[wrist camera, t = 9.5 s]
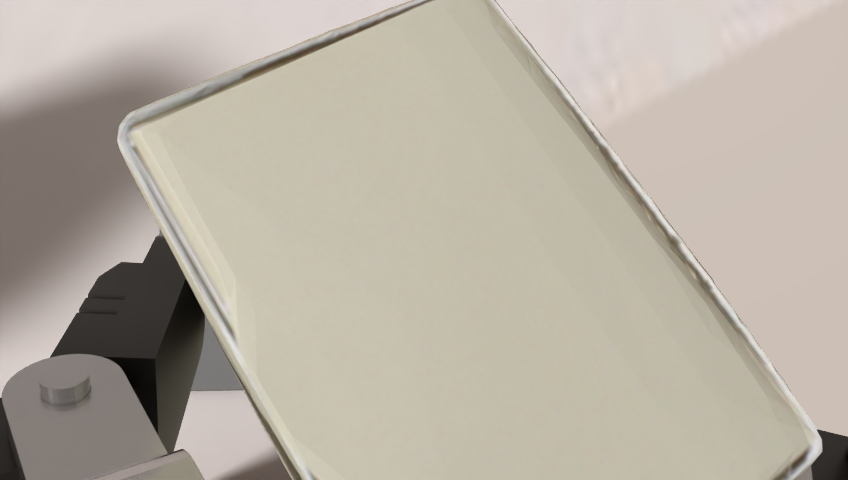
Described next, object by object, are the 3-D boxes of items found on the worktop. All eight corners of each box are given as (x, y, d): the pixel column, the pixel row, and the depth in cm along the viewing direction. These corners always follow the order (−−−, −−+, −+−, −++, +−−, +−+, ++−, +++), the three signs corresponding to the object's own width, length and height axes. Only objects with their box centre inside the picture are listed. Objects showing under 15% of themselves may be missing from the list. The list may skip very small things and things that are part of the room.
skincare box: (504, 487, 18) (873, 477, 6) (354, 594, 16) (491, 819, 5) (371, 272, 19) (485, -52, 8) (221, 355, 18) (93, 109, 6)
